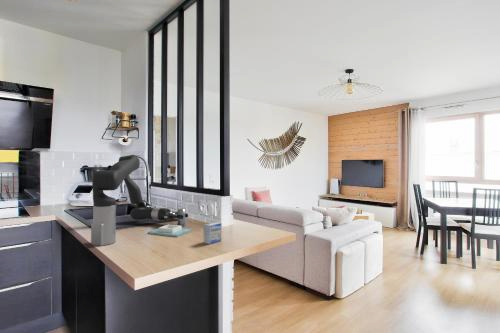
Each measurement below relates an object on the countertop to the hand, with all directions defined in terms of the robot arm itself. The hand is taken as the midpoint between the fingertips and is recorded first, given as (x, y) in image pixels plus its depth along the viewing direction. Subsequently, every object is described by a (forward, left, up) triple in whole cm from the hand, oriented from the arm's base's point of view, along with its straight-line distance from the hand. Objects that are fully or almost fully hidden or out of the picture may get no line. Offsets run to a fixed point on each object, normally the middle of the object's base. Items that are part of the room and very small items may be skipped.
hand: (185, 216), depth 164 cm
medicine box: (-23, -29, -6) cm, 38 cm away
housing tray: (-15, 0, -6) cm, 16 cm away
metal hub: (0, +3, -6) cm, 7 cm away
